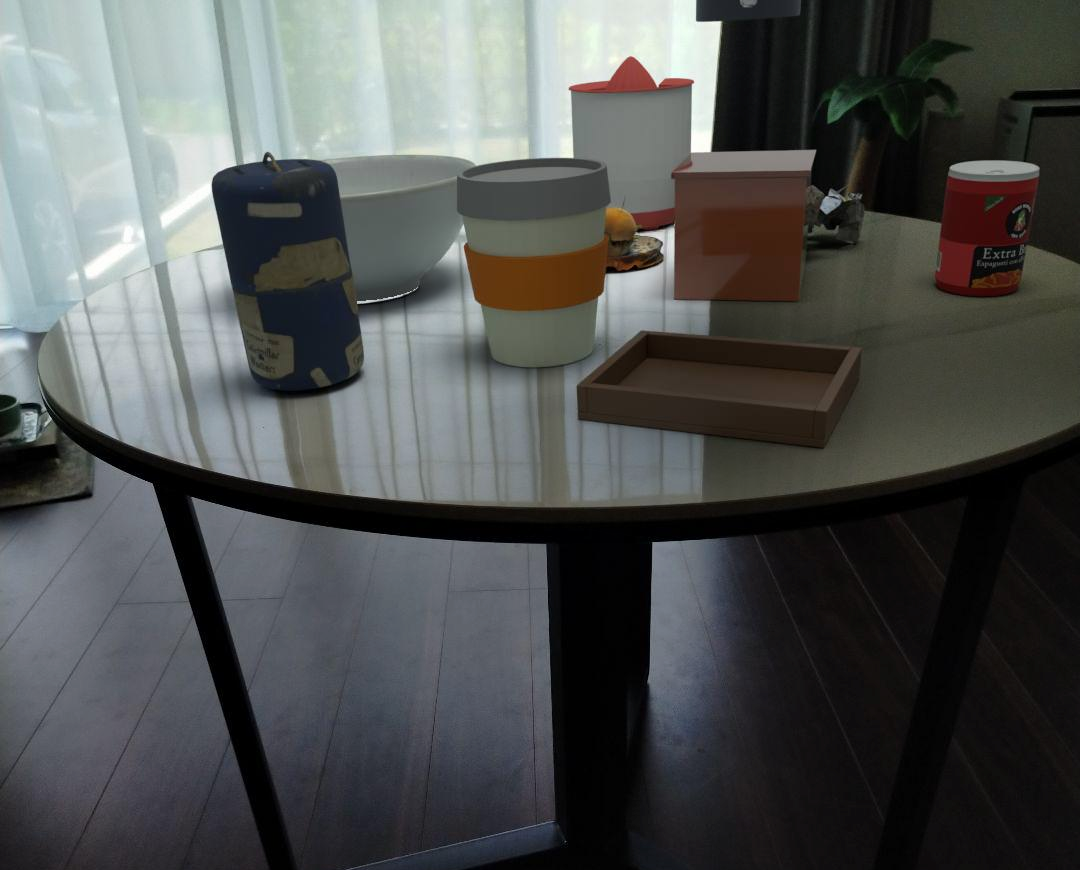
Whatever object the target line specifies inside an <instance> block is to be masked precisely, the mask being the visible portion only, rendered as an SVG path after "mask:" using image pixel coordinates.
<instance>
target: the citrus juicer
mask: <svg viewBox="0 0 1080 870" xmlns="http://www.w3.org/2000/svg"><path fill="white" fill-rule="evenodd" d="M693 84H695V80H694V79H691V78H682V77H666V78H664V79H662V81H661V82H660V83H659V84H658V85H657V83H656V82H655V80H654V78H653V77H652V75H651V74H650V73H649V71H648V70H647V69H646V67H645V66H644V65H643V64H642V63H641V62H640V61H639V60H638V59H637V58H636V57H634V56H631V55H630V56H628V57H626V58H625V59H624V60H623V61H622V62H621V64H620V65H619V66H618V68H617V69H616V70H615V72H614V73H613V75H612V76H611V77H610V79H609V80H600V81H593V82H591V81H590V82H585V83H583V82H582V83H578V84H574V85H571V86H568V91H570V101H571V102H570V103H571V126H572V127H571V128H572V131H571V133H572V153H573V155H572V158H583V159H592V160H598V161H601V162H604V163H606V165H607V173H608V181H609V189H610V197H611V203H610V204H609V205H607V208H612V207H617V208H621V209H623V210H626V211H627V212H629V213H630V214H631V215H632V217H633V219H634V221H635V223H636V225H637V226H640V225H642V227H641V228H638V229H637V230H639V229H641V230H645V231H653V230H658V229H659V227H662V226H667V225H669V224H672V223H675V179H671V172H672V171H673V170H674V169H675V168H676V167H677V166H678V165H679V164H680V163H681V162H682V161H683V160H684V159H685V158H686V157H687V156H688V155H689V154H690V153H692V108H693V100H692V99H693ZM624 198H625V201H624ZM623 202H624V206H623ZM622 206H623V208H622Z"/></svg>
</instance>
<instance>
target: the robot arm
mask: <svg viewBox="0 0 1080 870" xmlns="http://www.w3.org/2000/svg"><path fill="white" fill-rule="evenodd" d="M756 3H757V0H740V4H741V5H742V6H743V7H753V6H754V5H755V4H756Z"/></svg>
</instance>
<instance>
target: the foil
mask: <svg viewBox="0 0 1080 870" xmlns="http://www.w3.org/2000/svg"><path fill="white" fill-rule="evenodd" d="M848 185H850V183H848V184H847V185H845V186H844V187H842V188H840V189H839V190H837V191H836V190H835V189H833V188H830V189H829V191H828V195H826V196H825V194H824V192H822V191H821V190H820V189H819V188H818V187H816V186H815V185H813V184H811V190H810V204H809V219H808V233H807V236H808V235H809V234H812V233H813V229H814V228H815V226H816V227H818V228H821V226H822V225H823V226H824V228H825V230H827V231H836V229H837V227H838V230H837V233H836V236H835V240H837V241H843V242H846V243H848V244H853V245H854V244H856V243H857V242H858V241H859V240H860V238H861V231H862V228H863V221H864V218H865V210H866V209H865V204H864V201H863V193H860V192H857V193H850V192H847V193H846V197H845V196H843V195H842V194H840V193H841V192H842V191H844V189H846V188H847V187H848Z"/></svg>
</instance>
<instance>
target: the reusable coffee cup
mask: <svg viewBox="0 0 1080 870" xmlns="http://www.w3.org/2000/svg"><path fill="white" fill-rule="evenodd" d="M610 203H611V197H610V189H609V181H608V173H607V165H606V163H604V162H601V161H598V160H592V159H583V158H573V157H536V158H535V157H534V158H522V159H519V158H518V159H511V160H510V159H509V160H501V161H494V162H488V163H483V164H478V165H476V166H473V167H470V168H467V169H464V170H462V171H460V172H458V174H457V212H458V213H459V214H461V215H462V219H463V223H464V224H463V227H464V232H465V237H466V241H467V242H465V243H464V245H463V251H464V256H465V261H466V265H467V270H468V274H469V279H470V285H471V289H472V293H473V297H474V300H475V302H477V303H478V304H479V305H480V308H481V312H482V316H483V317H482V318H483V321H484V326H485V331H486V335H487V340H488V344H489V349H490V354H491V357H492V358H493V360H494V361H497V362H499V363H501V364H504V365H507V366H511V367H519V368H548V367H557V366H558V367H559V366H562V365H563V366H565V365H567V364H572V363H576V362H579V361H581V360H584V359H585V358H587V357H589V356H590V355H591V354H592V353H593V352H594V345H595V338H596V337H595V336H596V326H597V313H598V304H599V297H601V296H602V294H604V291H605V282H606V272H607V271H606V270H607V267H606V262H607V251H608V241H609V237H608V236H607V235H606V234H605V233H604V230H605V219H606V209H607V205H609V204H610Z"/></svg>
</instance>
